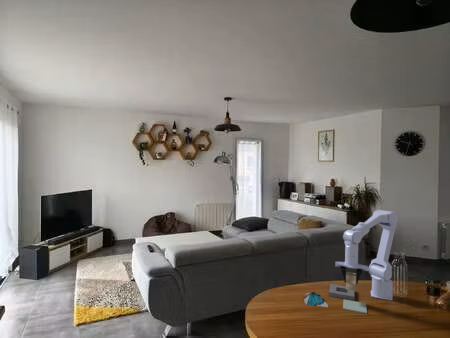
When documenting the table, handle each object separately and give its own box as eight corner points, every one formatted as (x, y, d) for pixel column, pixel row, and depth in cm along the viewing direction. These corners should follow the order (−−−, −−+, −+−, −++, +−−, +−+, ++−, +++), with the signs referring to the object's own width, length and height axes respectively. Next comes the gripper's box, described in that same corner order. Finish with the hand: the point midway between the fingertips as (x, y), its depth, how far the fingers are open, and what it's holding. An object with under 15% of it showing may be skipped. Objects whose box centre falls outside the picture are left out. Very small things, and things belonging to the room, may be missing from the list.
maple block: (355, 287, 144) (356, 273, 144) (355, 290, 140) (356, 276, 140) (346, 285, 146) (346, 271, 146) (345, 289, 142) (346, 274, 142)
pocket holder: (354, 291, 157) (354, 287, 157) (354, 300, 146) (354, 296, 146) (330, 287, 161) (330, 283, 161) (328, 296, 150) (328, 292, 150)
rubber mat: (365, 304, 142) (365, 303, 142) (366, 313, 133) (366, 312, 133) (343, 300, 146) (343, 299, 146) (342, 309, 136) (342, 308, 136)
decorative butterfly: (299, 290, 148) (319, 285, 148) (302, 302, 148) (322, 298, 148) (304, 299, 138) (325, 294, 138) (307, 312, 138) (328, 307, 138)
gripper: (335, 255, 142) (334, 283, 142) (368, 259, 136) (367, 288, 137) (336, 251, 149) (335, 278, 149) (367, 255, 143) (367, 283, 143)
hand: (350, 283), depth 143 cm, fingers closed on maple block, 4 cm apart
